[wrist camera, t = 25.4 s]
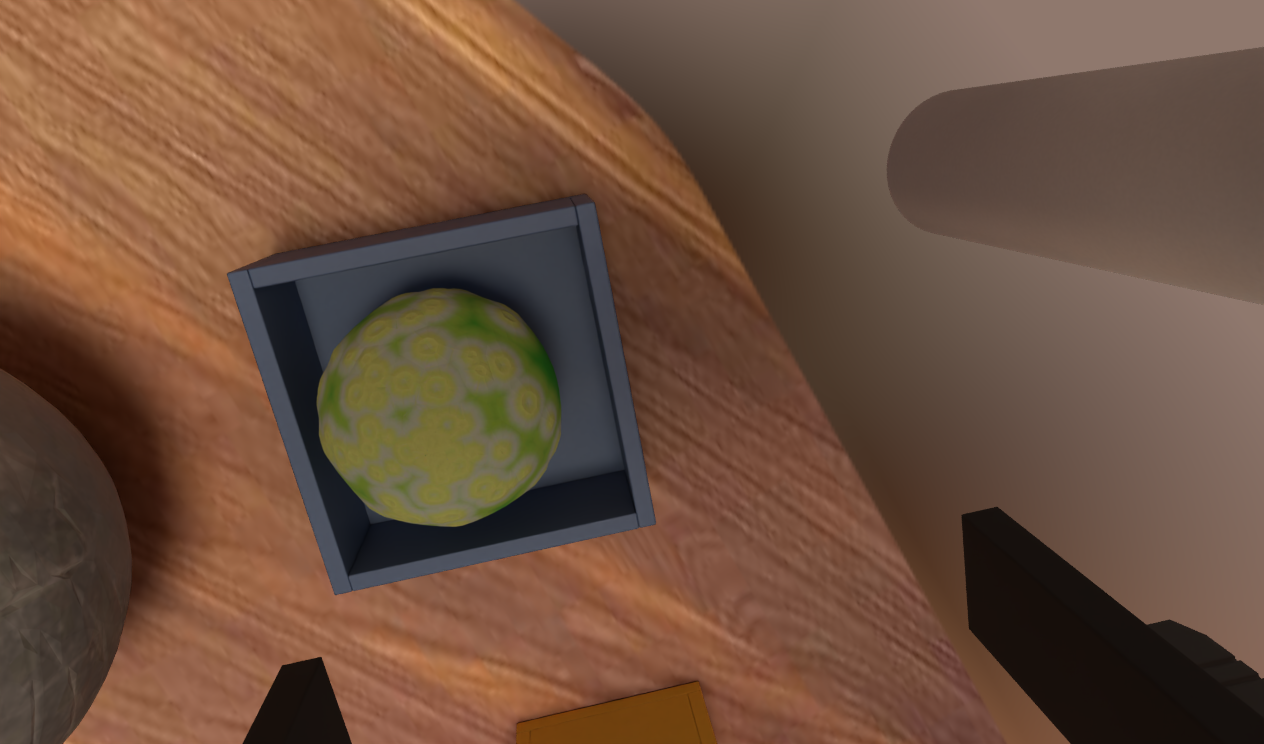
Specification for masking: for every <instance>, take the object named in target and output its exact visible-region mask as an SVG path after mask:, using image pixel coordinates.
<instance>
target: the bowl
mask: <svg viewBox="0 0 1264 744" xmlns="http://www.w3.org/2000/svg"><path fill="white" fill-rule="evenodd" d="M131 583H132V556H131V547H130V541H129V535H128V528H127V523H126V519H125V515H124V512H123V508H122V505H121V502H120V499H119V496H118V493H117V490H116V487H115V485H114V482H113V480H112V478H111V476H110V475H109V473H108V471H107V470H106V468H105V466H104V464H103V463H102V461H101V459H100V458H99V456H98V455H97V454H96V452H95V451H94V450H93V448H92V447H91V446H90V444H89V443H88V442H87V440H86V439H85V438H84V436H83V435H82V434H81V432H80V431H79V430H78V429H77V428H76V427H75V426H74V425H73V424H72V423H71V422H70V421H69V420H68V419H67V418H66V417H65V416H64V415H63V414H62V413H61V412H60V411H59V410H58V409H57V408H55V407H54V406H53V405H51V404H50V403H49V402H48V401H46V400H45V399H44V398H42V397H41V396H40V395H39V394H37V393H36V392H35V391H34V390H32V389H31V388H30V387H28V386H27V385H26V384H24V383H23V382H21V381H20V380H18V379H16V378H15V377H13V376H12V375H10V374H9V373H7V372H5V371H4V370H2V369H0V744H63V743H64V742H65V740H66V739H67V738H68V737H69V736H70V735H71V733H72V732H73V731H74V730H75V729H76V727H77V726H78V725H79V723H80V722H81V720H82V719H83V717H84V716H85V714H86V713H87V711H88V710H89V708H90V707H91V705H92V703H93V701H94V699H95V698H96V696H97V694H98V692H99V690H100V688H101V686H102V684H103V682H104V680H105V679H106V676H107V674H108V671H109V669H110V667H111V664H112V662H113V659H114V657H115V654H116V652H117V649H118V645H119V641H120V636H121V634H122V630H123V626H124V622H125V617H126V613H127V608H128V603H129V596H130V590H131Z"/></svg>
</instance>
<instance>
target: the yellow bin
mask: <svg viewBox="0 0 1264 744" xmlns="http://www.w3.org/2000/svg"><path fill="white" fill-rule="evenodd" d="M516 734H517V735H516V744H717V741H716V738H715V735H714V731H713V728H712V725H711V721H710V718H709V715H708V711H707V708H706V705H705V701H704V698H703V695H702V692H701V688H700V685H699V682H693V683H689V684H685V685H680V686H676V687H672V688H668V689H663V690H659V691H655V692H650V693H646V694H642V695H638V696H633V697H629V698H625V699H620V700H616V701H612V702H607V703H603V704H599V705H595V706H590V707H586V708H582V709H577V710H573V711H569V712H565V713H560V714H556V715H552V716H547V717H543V718H539V719H535V720H530V721H526V722H522V723H517V730H516Z"/></svg>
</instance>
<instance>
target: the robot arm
mask: <svg viewBox="0 0 1264 744" xmlns="http://www.w3.org/2000/svg"><path fill="white" fill-rule="evenodd" d="M962 530H963V545H964V560H965V575H966V591H967V606H968V621H969V629H970V630H971V631H972V633H973V634H974V635H975V636H976V637H977V638H978V639H979V641H980V642H981V643H982V644H983V645H984V646H985V647H986V648H987V650H988V651H989V652H990V653H991V654H992V655H993V656H994V657H995V659H996V660H997V661H998V662H999V663H1000V664H1001V665H1002V666H1003V668H1004V669H1005V670H1006V671H1007V672H1008V673H1009V674H1010V675H1011V677H1012V678H1013V679H1014V680H1015V681H1016V682H1017V683H1018V685H1019V686H1020V687H1021V688H1022V689H1023V690H1024V691H1025V693H1026V694H1027V695H1028V696H1029V697H1030V698H1031V699H1032V700H1033V702H1034V703H1035V704H1036V705H1037V706H1038V707H1039V708H1040V709H1041V711H1042V712H1043V713H1044V714H1045V715H1046V716H1047V717H1048V719H1049V720H1050V721H1051V722H1052V723H1053V724H1054V725H1055V726H1056V728H1057V729H1058V730H1059V731H1060V732H1061V733H1062V734H1063V735H1064V736H1065V738H1066V739H1067V740H1068V741H1069V742H1070V743H1071V744H1264V678H1263V679H1261V678H1260V677H1259V675H1258V673H1257V672H1256V671H1254V670H1253V669H1252V668H1250V667H1249V666H1247V665H1246V664H1245V663H1243V662H1242V661H1237V660H1236V659H1235V656H1234V655H1232V654H1231V653H1230V652H1228V651H1227V650H1226V649H1224V648H1223V647H1222V646H1220V645H1219V644H1218V643H1216V642H1214V641H1213V640H1212V639H1211V638H1209V637H1208V636H1207V635H1205V634H1202V633H1200V632H1198V631H1195V630H1193V629H1191V628H1188V627H1186V626H1184V625H1181V624H1179V623H1177V622H1174V621H1172V620H1166V621H1161V622H1158V623H1153V624H1149V625H1146V624H1145V623H1143V622H1142V621H1141V620H1140V619H1138V618H1137V617H1136V616H1135V615H1133V614H1132V613H1131V612H1130V611H1128V610H1127V609H1126V608H1125V607H1123V606H1122V605H1121V604H1119V603H1118V602H1117V601H1116V600H1114V599H1113V598H1112V597H1111V596H1109V595H1108V594H1107V593H1105V592H1104V591H1103V590H1102V589H1100V588H1099V587H1098V586H1097V585H1095V584H1094V583H1093V582H1092V581H1090V580H1089V579H1088V578H1087V577H1085V576H1084V575H1083V574H1081V573H1080V572H1079V571H1078V570H1076V569H1075V568H1074V567H1073V566H1071V565H1070V564H1069V563H1068V562H1066V561H1065V560H1064V559H1062V558H1061V557H1060V556H1059V555H1057V554H1056V553H1055V552H1054V551H1052V550H1051V549H1050V548H1048V547H1047V546H1046V545H1045V544H1044V543H1042V542H1041V541H1040V540H1039V539H1037V538H1036V537H1035V536H1033V535H1032V534H1031V533H1029V532H1028V531H1027V530H1026V529H1025V528H1023V527H1022V526H1021V525H1019V524H1018V523H1017V522H1016V521H1014V520H1013V519H1012V518H1011V517H1009V516H1008V515H1007V514H1006V513H1004V512H1003V511H1002V510H1001V509H999V508H998V507H994V508H990V509H985V510H981V511H976V512H972V513H967V514H963V515H962ZM243 744H352V743H351V740H350V737H349V734H348V731H347V729H346V726H345V723H344V720H343V717H342V714H341V711H340V709H339V706H338V703H337V700H336V697H335V694H334V692H333V689H332V686H331V683H330V680H329V677H328V675H327V672H326V669H325V666H324V663H323V660H322V658H321V657H318V658H314V659H309V660H305V661H300V662H296V663H291V664H287V665H282V667H281V669H280V671H279V673H278V675H277V677H276V679H275V681H274V683H273V685H272V687H271V689H270V690H269V692H268V694H267V696H266V698H265V700H264V702H263V704H262V706H261V708H260V710H259V712H258V714H257V716H256V718H255V720H254V722H253V724H252V726H251V728H250V730H249V732H248V734H247V736H246V738H245V740H244V742H243Z"/></svg>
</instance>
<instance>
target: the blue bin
mask: <svg viewBox="0 0 1264 744" xmlns="http://www.w3.org/2000/svg"><path fill="white" fill-rule="evenodd" d="M227 276H228V279H229V282H230V285H231V288H232V291H233V294H234V297H235V300H236V303H237V306H238V309H239V312H240V314H241V317H242V320H243V323H244V326H245V329H246V332H247V335H248V338H249V341H250V344H251V347H252V350H253V353H254V356H255V359H256V362H257V365H258V368H259V371H260V374H261V377H262V380H263V383H264V386H265V389H266V392H267V395H268V398H269V401H270V404H271V407H272V410H273V413H274V416H275V419H276V421H277V424H278V427H279V430H280V433H281V436H282V439H283V442H284V445H285V448H286V451H287V454H288V457H289V460H290V463H291V466H292V469H293V472H294V475H295V478H296V481H297V484H298V487H299V490H300V493H301V496H302V499H303V502H304V505H305V508H306V511H307V514H308V517H309V520H310V523H311V526H312V528H313V531H314V534H315V537H316V540H317V543H318V546H319V549H320V552H321V555H322V558H323V561H324V564H325V567H326V570H327V573H328V576H329V579H330V582H331V585H332V588H333V591H334V594H335V595H338V594H343V593H347V592H351V591H356V590H360V589H365V588H369V587H374V586H378V585H383V584H388V583H392V582H397V581H401V580H406V579H410V578H415V577H419V576H424V575H428V574H433V573H438V572H442V571H447V570H451V569H456V568H460V567H465V566H469V565H474V564H478V563H483V562H487V561H492V560H497V559H501V558H506V557H510V556H515V555H519V554H524V553H528V552H533V551H537V550H542V549H547V548H551V547H556V546H560V545H565V544H569V543H574V542H578V541H583V540H587V539H592V538H596V537H601V536H606V535H610V534H615V533H619V532H624V531H628V530H633V529H637V528H639V527H640V528H641V527H646V526H650V525H655V524H656V520H655V514H654V509H653V504H652V499H651V494H650V488H649V483H648V478H647V473H646V467H645V462H644V457H643V452H642V447H641V441H640V436H639V431H638V426H637V420H636V415H635V410H634V405H633V399H632V394H631V389H630V384H629V379H628V373H627V368H626V363H625V358H624V352H623V347H622V342H621V337H620V332H619V326H618V321H617V316H616V311H615V305H614V300H613V295H612V290H611V285H610V279H609V274H608V269H607V264H606V258H605V253H604V248H603V243H602V238H601V232H600V227H599V222H598V217H597V211H596V206H595V203H594V202H593V201H592V200H591V199H590V198H589V197H588V196H587V195H586V194H582V195H577V196H571V197H566V198H561V199H556V200H551V201H546V202H540V203H535V204H530V205H525V206H520V207H515V208H509V209H504V210H499V211H494V212H489V213H484V214H478V215H473V216H468V217H463V218H458V219H453V220H447V221H442V222H437V223H432V224H427V225H422V226H417V227H411V228H406V229H401V230H396V231H391V232H386V233H380V234H375V235H370V236H365V237H360V238H355V239H349V240H344V241H339V242H334V243H329V244H324V245H318V246H313V247H308V248H303V249H298V250H293V251H287V252H282V253H277V254H274V255H271V256H269V257H266V258H264V259H261V260H259V261H256V262H254V263H251V264H249V265H246V266H244V267H241V268H239V269H236V270H234V271H231V272H229V273H227ZM432 288H446V289H452V288H455V289H462V290H466V291H469V292H471V293H474V294H476V295H478V296H481V297H483V298H486V299H489V300H492V301H496V302H499V303H502V304H504V305H506V306H507V307H509V308H510V309H512V310H513V311H515V312H516V313H518V315H519V316H520V317H521V318H522V319H523V320H524V322H525V323H526V324H527V325H528V326H529V327H530V329H531V330H532V331H533V333H534V334H535V335H536V337H537V338H538V340H539V341H540V343H541V344H542V345H543V347H544V349H545V351H546V353H547V354H548V357H549V359H550V361H551V363H552V365H553V367H554V371H555V374H556V377H557V382H558V386H559V392H560V400H561V436H560V440H559V443H558V446H557V449H556V451H555V453H554V455H553V456H552V458H551V459H550V461H549V463H548V466H547V469H546V471H545V472H544V474H543V475H542V476H541V478H540V479H539V481H538V482H537V483H536V485H534V486H533V487H532V488H530V489H529V490H528V491H527V492H525V493H524V494H523V495H522V496H520V497H519V498H517V499H516V500H514V501H513V502H511V503H510V504H508V505H507V506H505V507H503V508H502V509H500V510H498V511H496V512H495V513H493V514H490V515H488V516H486V517H484V518H481V519H479V520H477V521H474V522H471V523H468V524H465V525H462V526H457V527H447V526H431V525H421V524H414V523H408V522H403V521H398V520H395V519H392V518H387V517H384V516H382V515H380V514H378V513H377V512H375V511H373V510H371V509H370V508H369V507H368V506H367V505H366V504H365V503H364V502H363V501H362V500H361V499H360V498H359V497H358V496H357V495H356V494H355V492H354V491H353V490H352V489H351V488H350V487H349V485H348V484H347V483H346V482H345V480H344V479H343V478H342V477H341V476H340V474H339V473H338V472H337V470H336V469H335V468H334V466H333V465H332V463H331V462H330V460H329V459H328V458H327V456H326V455H325V453H324V450H323V447H322V444H321V441H320V437H319V415H318V410H317V395H318V387H319V382H320V378H321V376H322V375H323V373H324V371H325V369H326V367H327V365H328V363H329V361H330V358H331V355H332V353H333V350H334V349H335V348H336V347H337V346H338V344H339V343H340V342H341V341H342V340H343V339H344V338H345V336H346V335H347V334H348V333H349V332H350V331H351V330H352V329H353V328H354V327H355V326H356V325H357V324H359V323H360V322H361V321H362V320H363V319H364V318H365V317H367V316H368V315H369V314H370V313H371V312H373V311H374V310H375V309H377V308H378V307H380V306H381V305H383V304H384V303H385V302H387V301H388V300H390V299H391V298H393V297H396V296H398V295H401V294H404V293H410V292H421V291H425V290H429V289H432Z"/></svg>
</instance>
